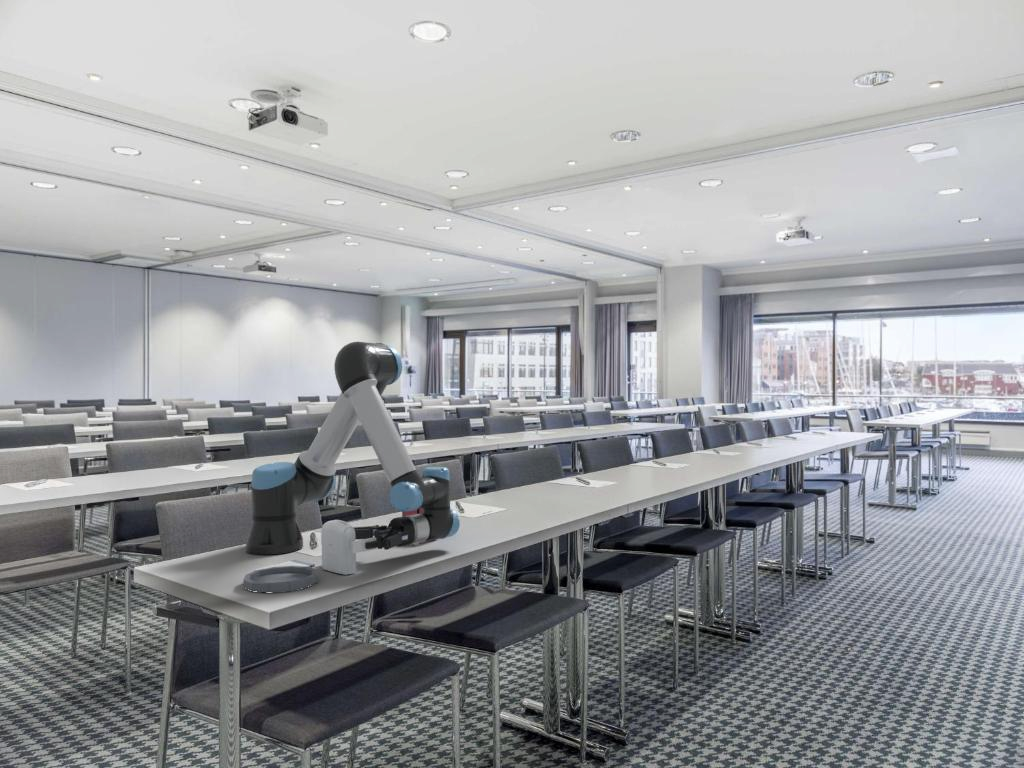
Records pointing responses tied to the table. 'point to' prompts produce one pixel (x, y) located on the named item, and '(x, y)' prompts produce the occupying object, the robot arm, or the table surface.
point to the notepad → (289, 564)
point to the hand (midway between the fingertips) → (336, 543)
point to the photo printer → (338, 547)
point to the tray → (280, 579)
